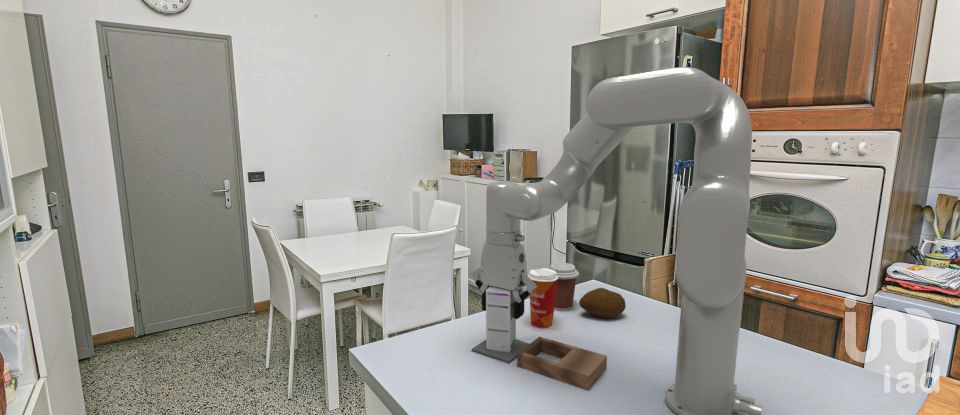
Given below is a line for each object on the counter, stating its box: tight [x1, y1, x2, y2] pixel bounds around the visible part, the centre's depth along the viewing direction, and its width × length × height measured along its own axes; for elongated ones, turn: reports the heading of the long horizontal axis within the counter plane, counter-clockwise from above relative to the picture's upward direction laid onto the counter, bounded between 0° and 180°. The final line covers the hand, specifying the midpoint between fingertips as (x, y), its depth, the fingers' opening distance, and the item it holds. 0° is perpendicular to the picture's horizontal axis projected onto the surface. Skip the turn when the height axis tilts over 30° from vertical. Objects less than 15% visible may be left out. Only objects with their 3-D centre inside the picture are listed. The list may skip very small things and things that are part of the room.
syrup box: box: [485, 286, 517, 353], centre depth 106 cm, size 6×6×14 cm
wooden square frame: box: [516, 336, 608, 391], centre depth 98 cm, size 16×10×3 cm, turn 55°
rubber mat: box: [471, 339, 531, 364], centre depth 107 cm, size 10×10×1 cm
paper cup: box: [527, 267, 558, 329], centre depth 120 cm, size 8×8×14 cm
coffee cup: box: [548, 262, 580, 312], centre depth 132 cm, size 9×9×12 cm
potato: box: [578, 287, 627, 319], centre depth 126 cm, size 8×12×8 cm, turn 96°
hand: (502, 312), depth 106 cm, fingers open, 7 cm apart
